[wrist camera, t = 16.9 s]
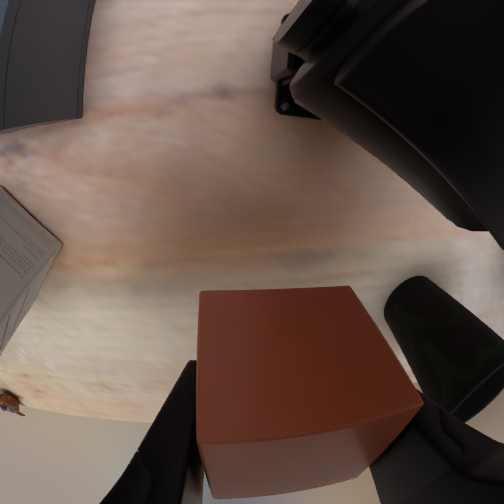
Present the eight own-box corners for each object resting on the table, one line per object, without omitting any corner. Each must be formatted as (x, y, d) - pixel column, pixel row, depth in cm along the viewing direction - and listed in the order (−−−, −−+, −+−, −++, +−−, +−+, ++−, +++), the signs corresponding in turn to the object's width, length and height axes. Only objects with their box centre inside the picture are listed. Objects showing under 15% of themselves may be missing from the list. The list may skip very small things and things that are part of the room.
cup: (377, 345, 26) (433, 443, 15) (368, 289, 22) (449, 404, 11) (439, 311, 25) (505, 391, 14) (440, 251, 21) (533, 335, 11)
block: (350, 284, 8) (426, 403, 4) (322, 377, 10) (357, 477, 6) (199, 289, 8) (196, 442, 4) (207, 386, 10) (212, 499, 6)
